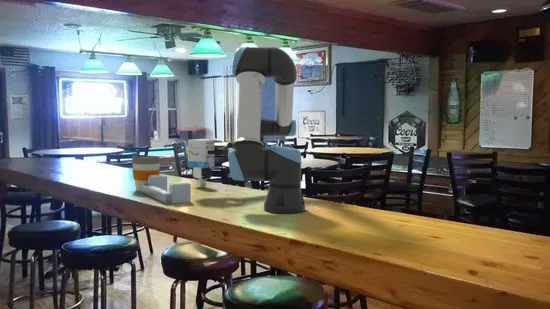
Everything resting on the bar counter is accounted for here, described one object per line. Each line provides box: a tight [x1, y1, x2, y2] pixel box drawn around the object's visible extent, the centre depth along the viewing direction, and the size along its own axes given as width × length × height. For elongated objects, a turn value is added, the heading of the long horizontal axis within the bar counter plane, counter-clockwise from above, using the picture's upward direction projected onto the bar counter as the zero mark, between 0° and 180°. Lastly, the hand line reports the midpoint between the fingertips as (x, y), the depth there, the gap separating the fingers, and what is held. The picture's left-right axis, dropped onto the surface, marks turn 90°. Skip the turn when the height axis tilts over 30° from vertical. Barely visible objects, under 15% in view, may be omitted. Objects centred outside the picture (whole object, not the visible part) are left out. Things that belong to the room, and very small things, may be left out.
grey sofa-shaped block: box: [148, 174, 192, 204], centre depth 210 cm, size 30×8×8 cm, turn 31°
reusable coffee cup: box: [131, 155, 161, 192], centre depth 228 cm, size 13×13×15 cm
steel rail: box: [141, 184, 173, 205], centre depth 207 cm, size 30×3×4 cm, turn 31°
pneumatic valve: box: [191, 167, 213, 189], centre depth 239 cm, size 6×12×12 cm, turn 37°
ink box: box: [187, 138, 215, 168], centre depth 215 cm, size 8×8×12 cm
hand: (192, 151), depth 212 cm, fingers closed on ink box, 11 cm apart
